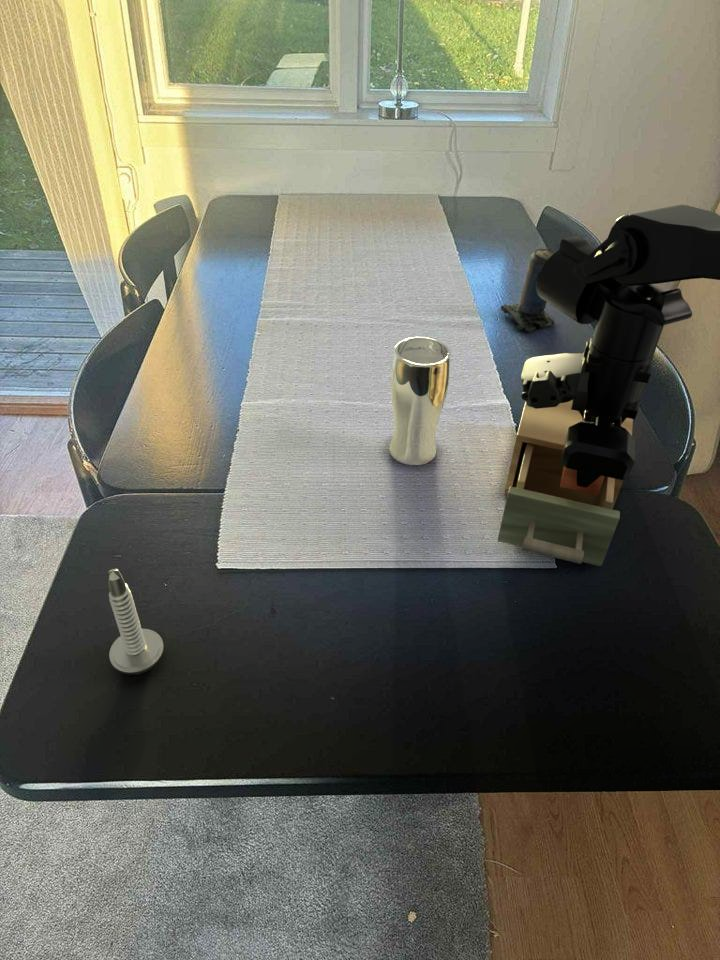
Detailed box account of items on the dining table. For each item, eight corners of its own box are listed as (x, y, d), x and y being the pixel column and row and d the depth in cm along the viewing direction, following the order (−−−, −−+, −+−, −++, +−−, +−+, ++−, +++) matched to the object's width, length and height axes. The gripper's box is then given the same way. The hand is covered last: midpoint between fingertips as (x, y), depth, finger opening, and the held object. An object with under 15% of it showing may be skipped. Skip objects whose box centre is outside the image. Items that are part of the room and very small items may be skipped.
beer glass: (440, 469, 89) (454, 367, 79) (386, 467, 89) (393, 365, 79) (437, 435, 94) (450, 336, 84) (385, 434, 94) (392, 334, 84)
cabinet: (609, 518, 83) (631, 459, 77) (503, 494, 86) (516, 435, 80) (615, 446, 93) (634, 389, 88) (520, 427, 96) (533, 370, 90)
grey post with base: (560, 325, 118) (577, 257, 111) (524, 335, 116) (539, 266, 108) (527, 303, 124) (540, 236, 116) (492, 311, 121) (503, 244, 114)
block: (600, 472, 77) (609, 444, 75) (597, 495, 74) (607, 466, 72) (563, 464, 78) (571, 436, 76) (559, 487, 75) (568, 458, 73)
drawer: (598, 595, 73) (617, 547, 68) (490, 567, 75) (501, 519, 70) (608, 488, 86) (624, 441, 81) (515, 468, 88) (525, 421, 83)
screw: (141, 694, 64) (102, 670, 65) (177, 656, 67) (139, 634, 69) (112, 602, 55) (69, 577, 57) (155, 564, 58) (113, 541, 60)
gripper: (547, 290, 74) (521, 411, 84) (522, 380, 60) (494, 511, 71) (657, 308, 71) (616, 430, 82) (656, 406, 58) (607, 538, 68)
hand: (583, 473), depth 76 cm, fingers closed on block, 4 cm apart
